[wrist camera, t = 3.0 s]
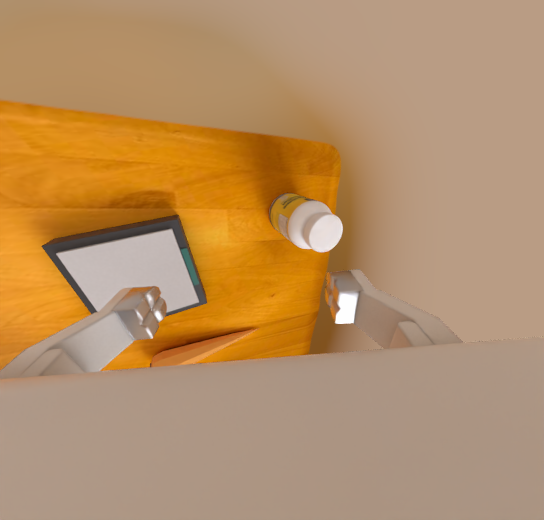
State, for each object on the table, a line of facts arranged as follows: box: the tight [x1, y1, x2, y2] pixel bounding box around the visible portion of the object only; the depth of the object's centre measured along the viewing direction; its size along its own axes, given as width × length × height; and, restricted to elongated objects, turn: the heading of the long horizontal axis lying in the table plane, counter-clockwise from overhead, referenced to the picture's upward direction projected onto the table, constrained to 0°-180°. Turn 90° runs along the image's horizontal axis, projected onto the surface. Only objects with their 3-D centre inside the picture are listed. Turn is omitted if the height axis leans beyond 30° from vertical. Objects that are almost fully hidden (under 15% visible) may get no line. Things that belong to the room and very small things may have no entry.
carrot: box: [150, 328, 259, 367], centre depth 38 cm, size 20×4×4 cm, turn 90°
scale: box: [42, 215, 207, 316], centre depth 27 cm, size 14×14×3 cm
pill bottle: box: [269, 193, 343, 252], centre depth 28 cm, size 6×6×12 cm
